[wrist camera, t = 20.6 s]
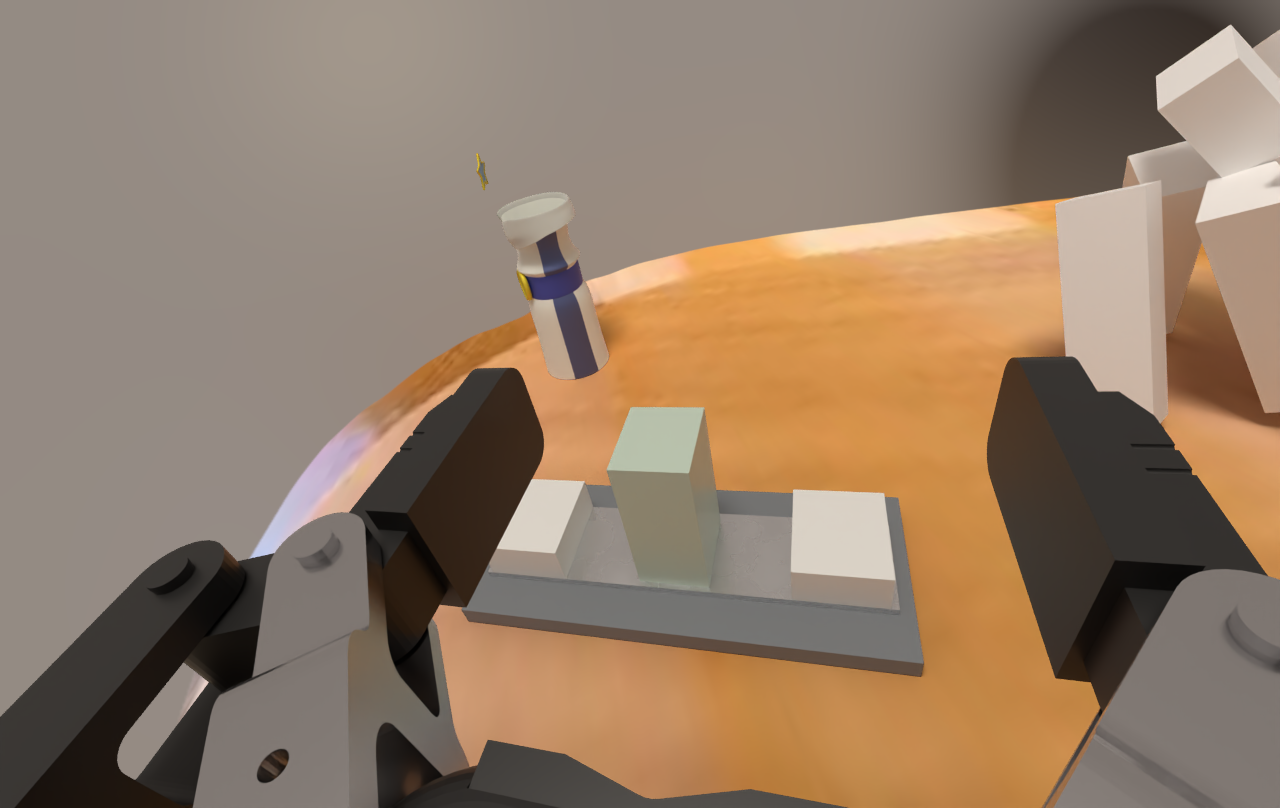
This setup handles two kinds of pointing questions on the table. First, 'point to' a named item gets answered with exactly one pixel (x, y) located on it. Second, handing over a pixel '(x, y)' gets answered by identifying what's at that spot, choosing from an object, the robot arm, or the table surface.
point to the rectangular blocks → (820, 553)
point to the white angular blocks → (1183, 228)
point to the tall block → (667, 494)
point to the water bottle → (554, 282)
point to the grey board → (717, 609)
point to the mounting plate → (741, 569)
